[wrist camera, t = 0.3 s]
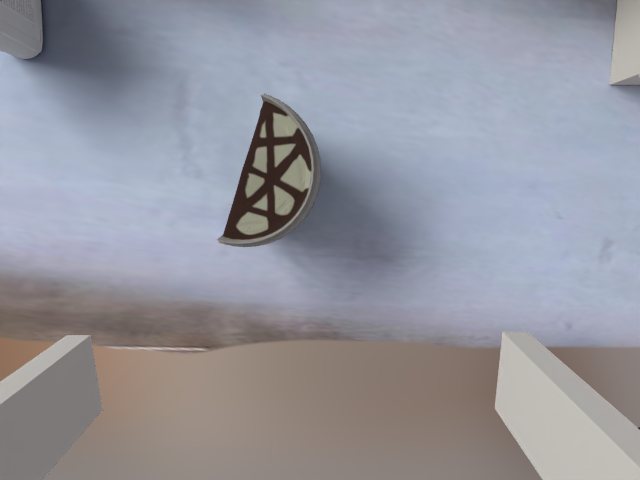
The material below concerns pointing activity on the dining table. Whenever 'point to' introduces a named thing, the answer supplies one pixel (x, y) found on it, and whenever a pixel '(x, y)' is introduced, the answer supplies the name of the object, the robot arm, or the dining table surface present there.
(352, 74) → the dining table surface
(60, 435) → the robot arm
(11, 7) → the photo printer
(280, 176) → the food container
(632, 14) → the plinth
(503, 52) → the dining table surface
